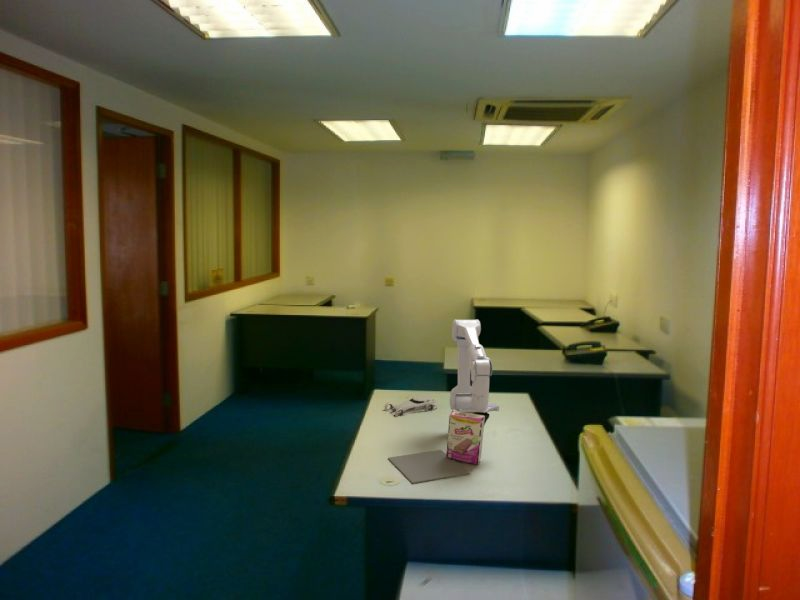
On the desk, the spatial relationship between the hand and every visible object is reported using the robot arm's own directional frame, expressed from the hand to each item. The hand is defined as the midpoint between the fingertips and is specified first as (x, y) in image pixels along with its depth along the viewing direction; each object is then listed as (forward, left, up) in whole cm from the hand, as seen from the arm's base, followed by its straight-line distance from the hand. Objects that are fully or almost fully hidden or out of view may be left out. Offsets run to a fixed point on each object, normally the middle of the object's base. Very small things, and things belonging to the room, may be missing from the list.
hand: (478, 433), depth 192 cm
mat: (+19, 0, -9) cm, 21 cm away
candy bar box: (+5, 0, -8) cm, 10 cm away
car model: (-1, -55, -10) cm, 56 cm away
